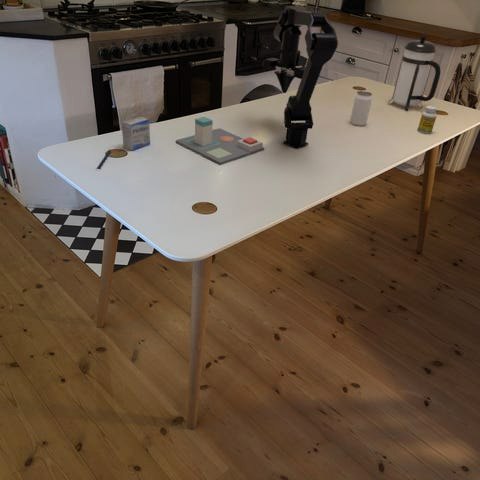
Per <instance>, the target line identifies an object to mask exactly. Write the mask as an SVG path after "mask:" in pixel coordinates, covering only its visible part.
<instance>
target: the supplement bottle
mask: <svg viewBox="0 0 480 480" xmlns="http://www.w3.org/2000/svg"><path fill="white" fill-rule="evenodd" d="M437 109H438V108H437V107H436V106H434V105H426V106H425V111H423V112H422V113H421V116H420V121H419V124H418V127H417V132H419V133H420V134H424V135H426V134H427V135H429V134H431V133H432V132H433V128H434V125H435V123H436V119H437V117H438V115H437V113H436V112H437Z"/></svg>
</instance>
